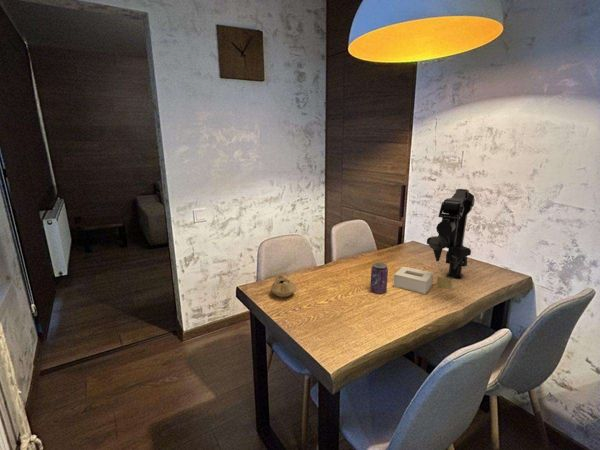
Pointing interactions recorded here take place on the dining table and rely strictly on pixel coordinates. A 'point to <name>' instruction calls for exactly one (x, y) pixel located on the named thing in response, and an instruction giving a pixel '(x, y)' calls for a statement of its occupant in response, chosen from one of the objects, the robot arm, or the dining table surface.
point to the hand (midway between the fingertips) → (445, 265)
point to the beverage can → (379, 277)
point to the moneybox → (413, 280)
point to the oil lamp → (283, 287)
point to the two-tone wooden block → (445, 282)
